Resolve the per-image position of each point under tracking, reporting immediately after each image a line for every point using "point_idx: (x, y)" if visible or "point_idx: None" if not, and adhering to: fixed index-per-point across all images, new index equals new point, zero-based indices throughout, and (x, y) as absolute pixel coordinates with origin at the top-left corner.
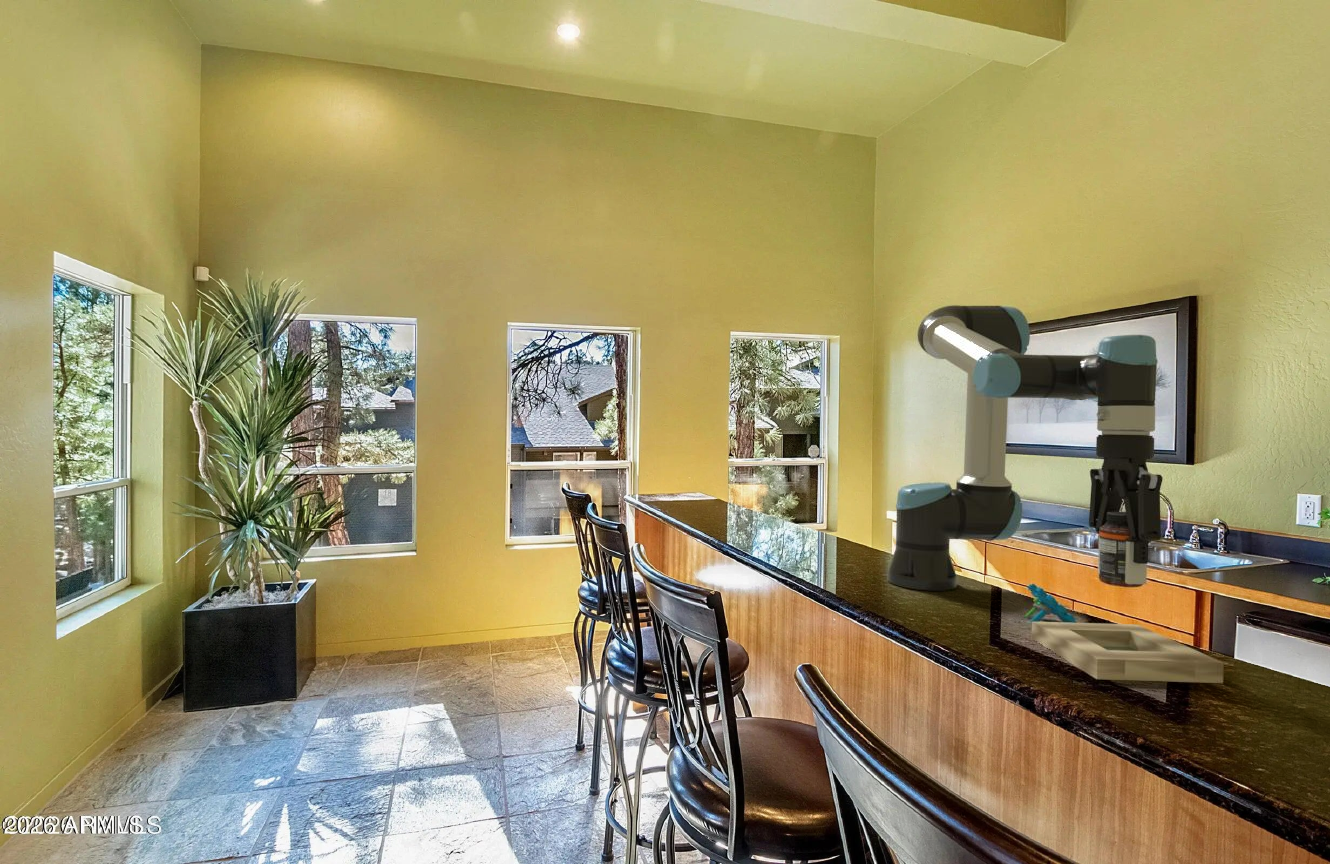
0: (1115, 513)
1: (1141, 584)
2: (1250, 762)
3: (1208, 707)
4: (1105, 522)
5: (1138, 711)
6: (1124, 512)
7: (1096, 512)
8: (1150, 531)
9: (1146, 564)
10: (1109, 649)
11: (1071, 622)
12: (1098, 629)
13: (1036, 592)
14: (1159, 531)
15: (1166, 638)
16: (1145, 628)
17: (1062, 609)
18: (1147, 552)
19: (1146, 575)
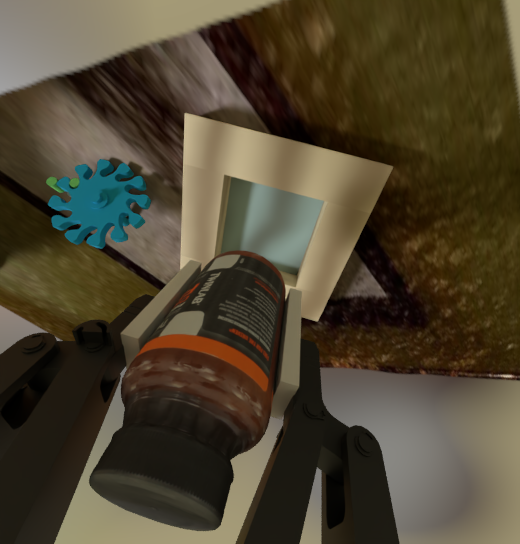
0: (166, 521)
1: (283, 281)
2: (500, 342)
3: (418, 267)
4: (101, 411)
5: (388, 334)
6: (118, 488)
7: (10, 437)
8: (320, 447)
9: (299, 324)
10: (238, 213)
11: (142, 190)
12: (213, 221)
13: (86, 233)
14: (384, 481)
15: (267, 140)
16: (209, 122)
17: (142, 223)
18: (319, 375)
19: (300, 304)
